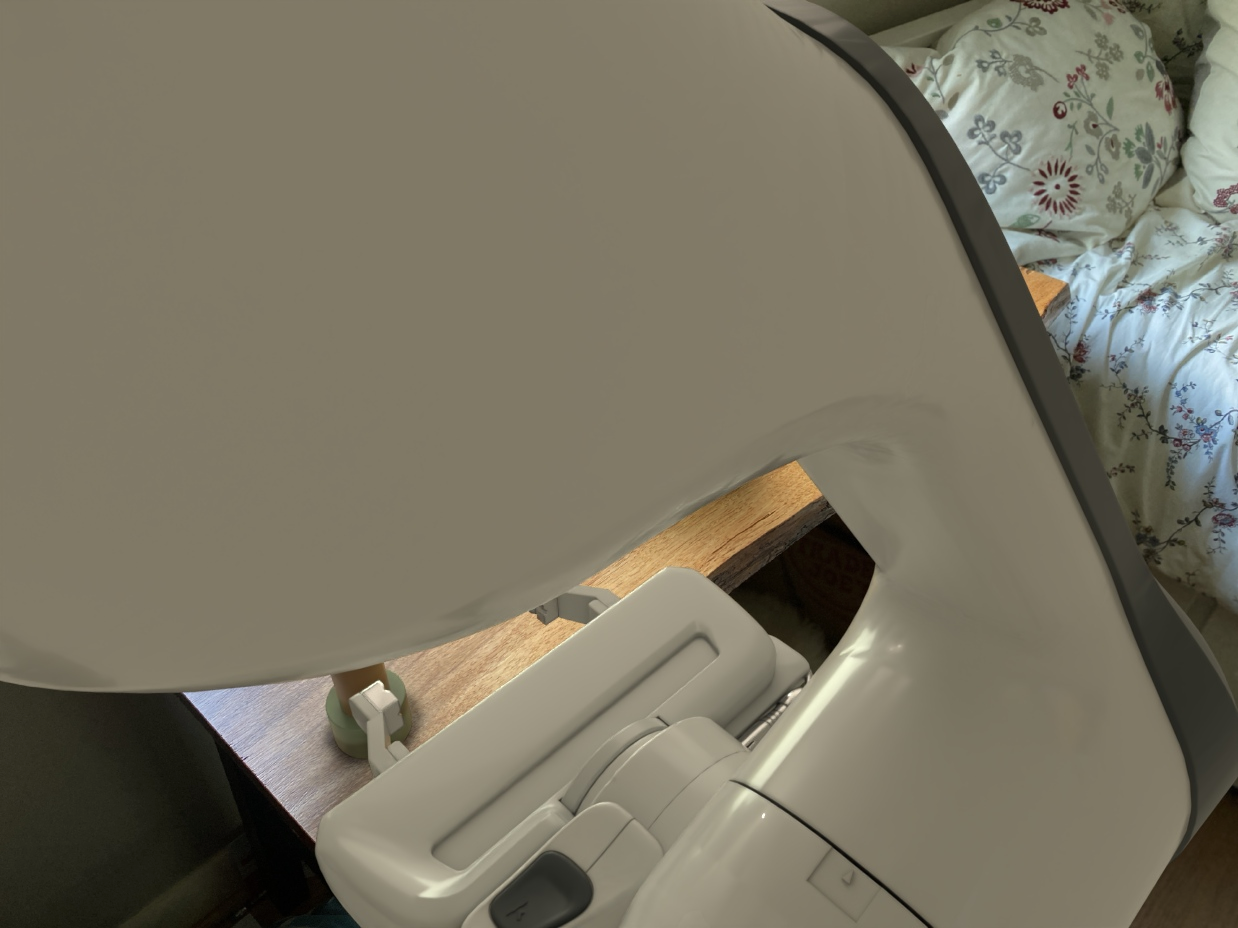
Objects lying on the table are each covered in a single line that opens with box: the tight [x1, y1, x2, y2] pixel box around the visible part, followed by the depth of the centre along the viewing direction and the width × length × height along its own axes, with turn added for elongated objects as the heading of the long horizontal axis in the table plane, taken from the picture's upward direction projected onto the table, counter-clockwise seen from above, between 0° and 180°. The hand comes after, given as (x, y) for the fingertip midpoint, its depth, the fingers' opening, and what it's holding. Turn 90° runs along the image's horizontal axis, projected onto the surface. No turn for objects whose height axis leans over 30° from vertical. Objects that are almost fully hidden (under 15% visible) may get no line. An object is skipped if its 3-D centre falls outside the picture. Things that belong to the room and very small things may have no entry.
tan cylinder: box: [325, 662, 413, 760], centre depth 57 cm, size 5×5×12 cm
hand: (453, 638), depth 43 cm, fingers open, 8 cm apart
